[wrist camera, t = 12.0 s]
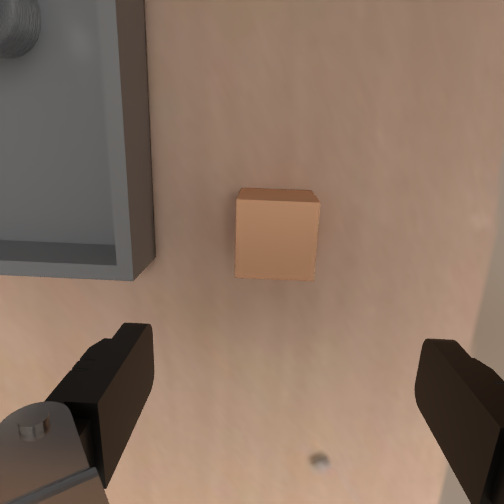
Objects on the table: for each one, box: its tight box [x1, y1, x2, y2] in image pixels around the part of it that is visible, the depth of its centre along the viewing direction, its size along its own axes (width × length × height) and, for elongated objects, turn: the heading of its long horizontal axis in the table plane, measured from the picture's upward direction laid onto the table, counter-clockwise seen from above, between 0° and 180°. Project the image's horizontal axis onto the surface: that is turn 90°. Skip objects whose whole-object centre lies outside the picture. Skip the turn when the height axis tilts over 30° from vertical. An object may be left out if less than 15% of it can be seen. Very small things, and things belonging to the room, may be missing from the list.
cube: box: [235, 188, 321, 281], centre depth 26 cm, size 5×5×5 cm
